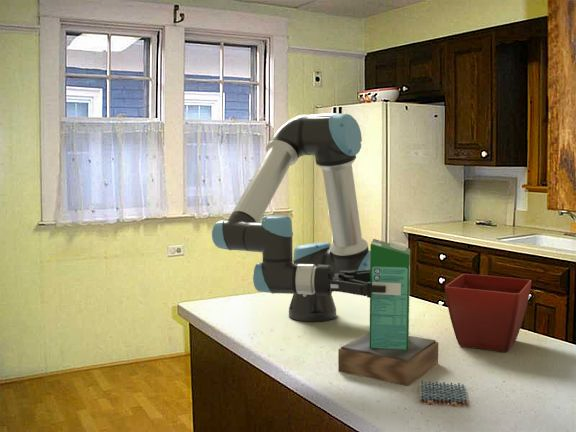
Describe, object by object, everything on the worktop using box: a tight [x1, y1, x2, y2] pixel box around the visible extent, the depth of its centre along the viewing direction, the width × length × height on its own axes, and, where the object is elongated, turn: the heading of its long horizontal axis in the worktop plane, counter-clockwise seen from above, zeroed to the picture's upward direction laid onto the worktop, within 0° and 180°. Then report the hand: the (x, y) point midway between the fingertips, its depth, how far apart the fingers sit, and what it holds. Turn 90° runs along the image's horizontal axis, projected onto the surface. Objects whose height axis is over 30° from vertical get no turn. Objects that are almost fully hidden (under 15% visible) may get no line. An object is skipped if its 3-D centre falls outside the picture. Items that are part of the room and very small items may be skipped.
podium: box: [337, 331, 439, 386], centre depth 163 cm, size 18×18×6 cm
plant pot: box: [444, 273, 532, 353], centre depth 181 cm, size 19×19×17 cm
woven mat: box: [418, 380, 470, 408], centre depth 144 cm, size 10×11×2 cm
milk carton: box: [369, 238, 411, 350], centre depth 161 cm, size 9×9×25 cm
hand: (403, 283), depth 160 cm, fingers open, 13 cm apart
